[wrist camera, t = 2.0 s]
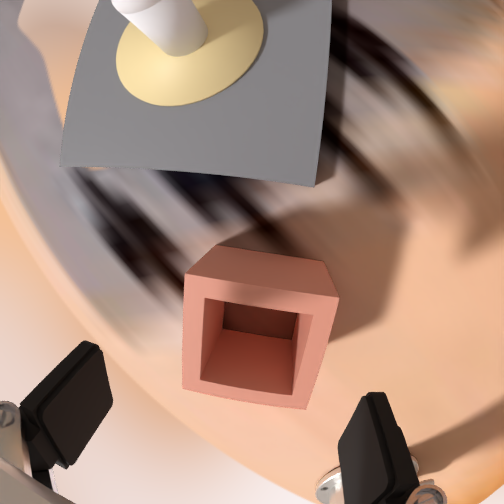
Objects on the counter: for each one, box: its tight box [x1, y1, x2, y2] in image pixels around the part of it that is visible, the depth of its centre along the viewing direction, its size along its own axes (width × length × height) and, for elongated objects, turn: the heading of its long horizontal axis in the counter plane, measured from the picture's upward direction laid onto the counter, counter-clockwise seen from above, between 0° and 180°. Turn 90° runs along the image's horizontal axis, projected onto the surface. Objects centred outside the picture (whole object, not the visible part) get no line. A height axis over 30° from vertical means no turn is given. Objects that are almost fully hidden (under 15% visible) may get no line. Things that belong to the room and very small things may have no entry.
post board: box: [59, 0, 332, 187], centre depth 11 cm, size 18×18×9 cm
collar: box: [182, 245, 340, 410], centre depth 16 cm, size 7×7×6 cm
